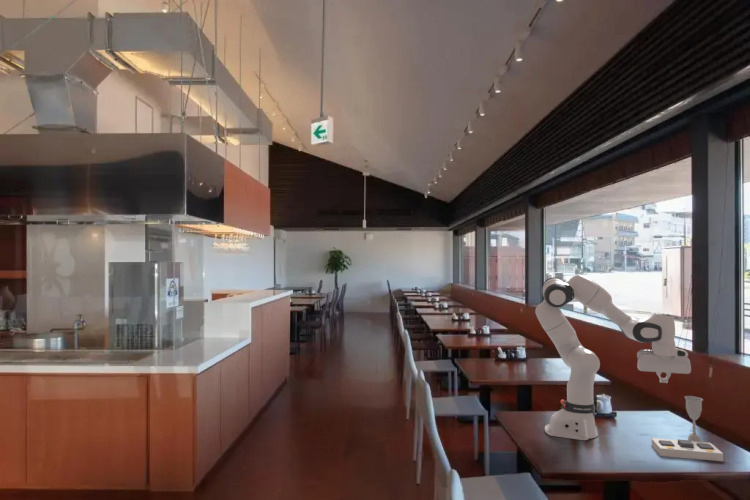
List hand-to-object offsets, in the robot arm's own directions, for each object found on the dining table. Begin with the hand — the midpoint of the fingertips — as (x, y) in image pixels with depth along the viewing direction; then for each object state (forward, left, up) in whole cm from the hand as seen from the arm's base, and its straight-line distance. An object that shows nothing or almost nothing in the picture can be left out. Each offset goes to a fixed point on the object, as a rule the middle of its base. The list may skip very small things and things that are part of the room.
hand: (663, 382), depth 215 cm
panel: (+4, -12, -25) cm, 28 cm away
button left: (-3, -12, -24) cm, 27 cm away
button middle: (+4, -12, -23) cm, 27 cm away
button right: (+11, -12, -24) cm, 29 cm away
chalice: (+13, +6, -26) cm, 29 cm away
